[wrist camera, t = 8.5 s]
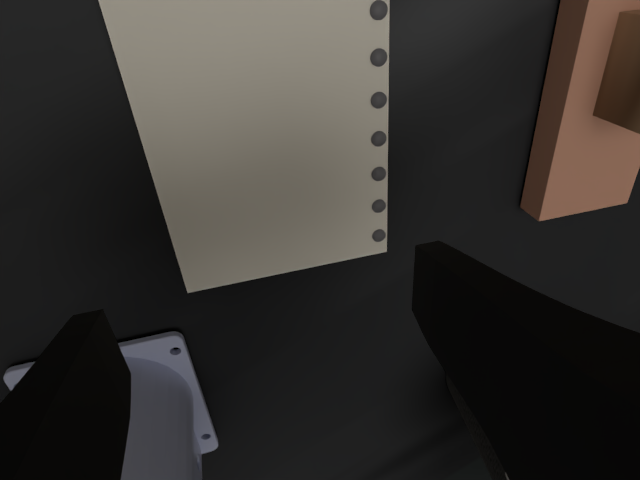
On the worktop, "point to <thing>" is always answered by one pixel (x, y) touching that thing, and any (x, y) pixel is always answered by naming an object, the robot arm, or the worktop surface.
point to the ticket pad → (260, 128)
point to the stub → (587, 112)
